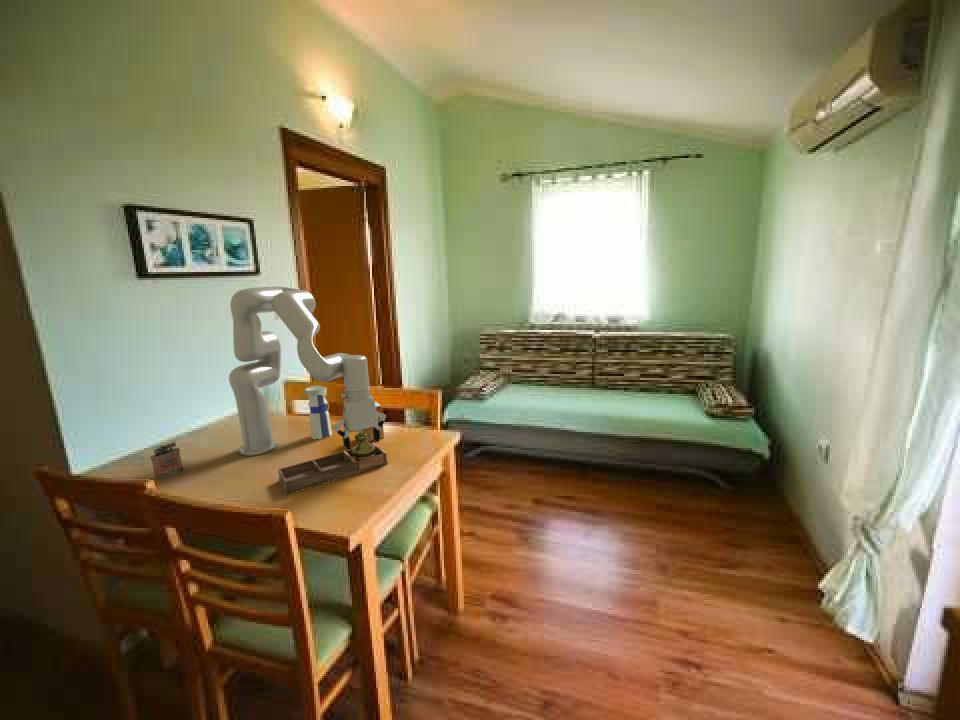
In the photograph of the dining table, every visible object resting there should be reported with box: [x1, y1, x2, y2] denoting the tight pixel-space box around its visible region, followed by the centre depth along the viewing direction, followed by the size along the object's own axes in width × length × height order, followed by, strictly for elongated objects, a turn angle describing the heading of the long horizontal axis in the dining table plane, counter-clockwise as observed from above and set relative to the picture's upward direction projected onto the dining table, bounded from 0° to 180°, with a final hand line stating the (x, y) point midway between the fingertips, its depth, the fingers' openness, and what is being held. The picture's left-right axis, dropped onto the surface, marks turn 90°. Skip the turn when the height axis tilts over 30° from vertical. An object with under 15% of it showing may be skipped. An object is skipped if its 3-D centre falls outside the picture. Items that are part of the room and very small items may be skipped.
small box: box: [357, 401, 385, 442], centre depth 163 cm, size 8×6×13 cm
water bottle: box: [304, 384, 333, 440], centre depth 167 cm, size 8×8×25 cm
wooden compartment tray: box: [277, 442, 389, 495], centre depth 137 cm, size 11×31×4 cm, turn 125°
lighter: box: [150, 442, 184, 480], centre depth 140 cm, size 8×3×10 cm, turn 148°
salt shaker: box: [352, 431, 376, 461], centre depth 142 cm, size 7×7×10 cm
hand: (362, 444), depth 142 cm, fingers open, 9 cm apart
